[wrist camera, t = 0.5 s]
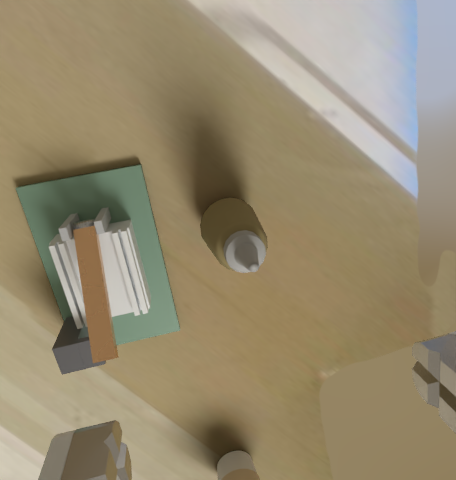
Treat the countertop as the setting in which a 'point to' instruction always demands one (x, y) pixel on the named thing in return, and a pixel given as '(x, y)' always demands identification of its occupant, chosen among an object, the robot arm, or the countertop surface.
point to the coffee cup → (236, 467)
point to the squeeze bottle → (234, 235)
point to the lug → (73, 348)
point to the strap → (94, 291)
